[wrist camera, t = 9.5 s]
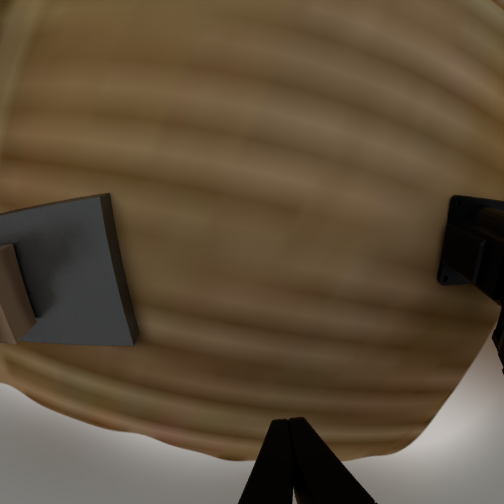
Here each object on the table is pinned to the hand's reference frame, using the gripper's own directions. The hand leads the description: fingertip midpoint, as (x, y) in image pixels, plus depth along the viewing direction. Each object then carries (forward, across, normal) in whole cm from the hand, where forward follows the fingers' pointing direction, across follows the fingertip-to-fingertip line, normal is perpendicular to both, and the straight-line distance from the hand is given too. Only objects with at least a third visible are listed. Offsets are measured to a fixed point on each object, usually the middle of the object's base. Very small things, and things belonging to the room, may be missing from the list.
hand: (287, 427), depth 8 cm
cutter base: (+13, +21, 0) cm, 25 cm away
